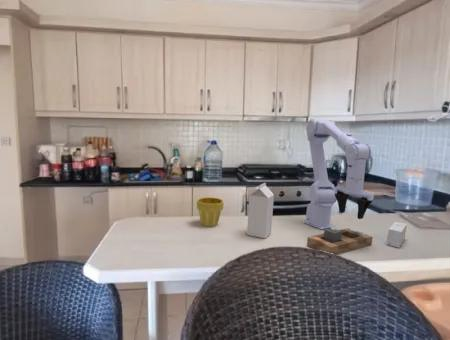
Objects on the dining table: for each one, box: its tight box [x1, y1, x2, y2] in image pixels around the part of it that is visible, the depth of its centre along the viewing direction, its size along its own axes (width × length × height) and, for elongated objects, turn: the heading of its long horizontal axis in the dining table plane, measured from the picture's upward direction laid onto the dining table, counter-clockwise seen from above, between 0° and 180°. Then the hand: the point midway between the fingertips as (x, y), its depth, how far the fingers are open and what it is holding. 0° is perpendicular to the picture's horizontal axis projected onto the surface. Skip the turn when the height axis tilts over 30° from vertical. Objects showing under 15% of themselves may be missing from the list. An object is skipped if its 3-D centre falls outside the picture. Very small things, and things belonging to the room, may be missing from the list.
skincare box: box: [386, 221, 407, 248], centre depth 117 cm, size 6×4×12 cm
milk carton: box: [246, 182, 275, 239], centre depth 117 cm, size 7×7×19 cm
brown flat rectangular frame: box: [306, 227, 374, 256], centre depth 111 cm, size 10×22×3 cm, turn 123°
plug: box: [323, 226, 342, 243], centre depth 108 cm, size 4×4×7 cm
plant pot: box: [196, 196, 224, 228], centre depth 126 cm, size 10×10×10 cm
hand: (350, 215), depth 114 cm, fingers open, 7 cm apart
